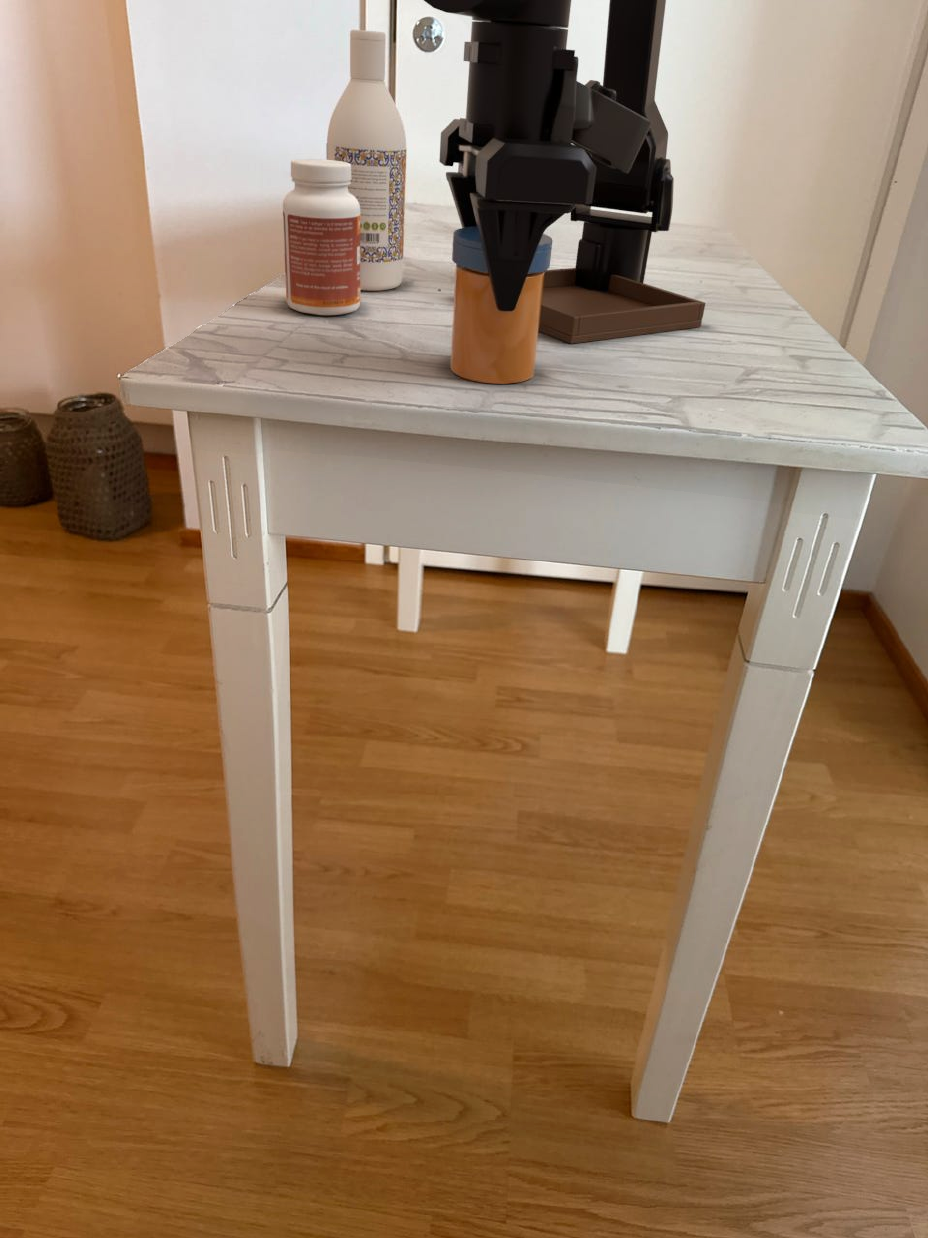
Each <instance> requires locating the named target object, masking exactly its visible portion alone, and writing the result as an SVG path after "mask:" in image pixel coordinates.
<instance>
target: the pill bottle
mask: <svg viewBox="0 0 928 1238" xmlns="http://www.w3.org/2000/svg"><path fill="white" fill-rule="evenodd" d="M290 177H291V182H292V183H294V188H293V189H292V190H290V191H289V192H288V193H286V195H285V196H284V198H283V201H282V224H283V249H284V275H285V296H286V303H287V305H288V307H289V308H290V309H292V310H295V311H296V312H300V313H305V314H309V315H315V316H340V315H345V314H351V313H353V312H355V311H357V310H358V309H359V308H360V305H361V290H360V205H359V202H358V200H357V199H356V198H355V197H354V196H353V195H352V194H350V193H349V192H348V185H349V184H351V182H350V181H351V164H350V163H347V162H342V161H334V160H327V159H323V158H321V159H319V158H297V159H292V160H290Z"/></svg>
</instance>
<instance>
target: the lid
mask: <svg viewBox="0 0 928 1238" xmlns="http://www.w3.org/2000/svg"><path fill="white" fill-rule="evenodd" d="M452 235H453V236H452V252H451V261H452V262H453V263H454V264H455V265H456V264H458V265H460V266H462V267H465V268H469V269H473V270H478V271H484V272H488V269H487V265H486V260H485V256H484V252H483V248H482V243H481V239H480V235H479V231H478V227H477V226H476V227H466V228H462V227H461V228H458V229H455V230H454V231H453V234H452ZM552 250H553V238H552V237H551V236H550V235H548V234H545V233H543V235H542V238H541V240H540V243H539V245H538V248H537V250H536V253H535V255H534V258H533V261H532V263H531V266H530V269H529V272H528V274H529V273H537V272H542V271H545V270H549V269H550V266H551V258H552Z"/></svg>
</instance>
